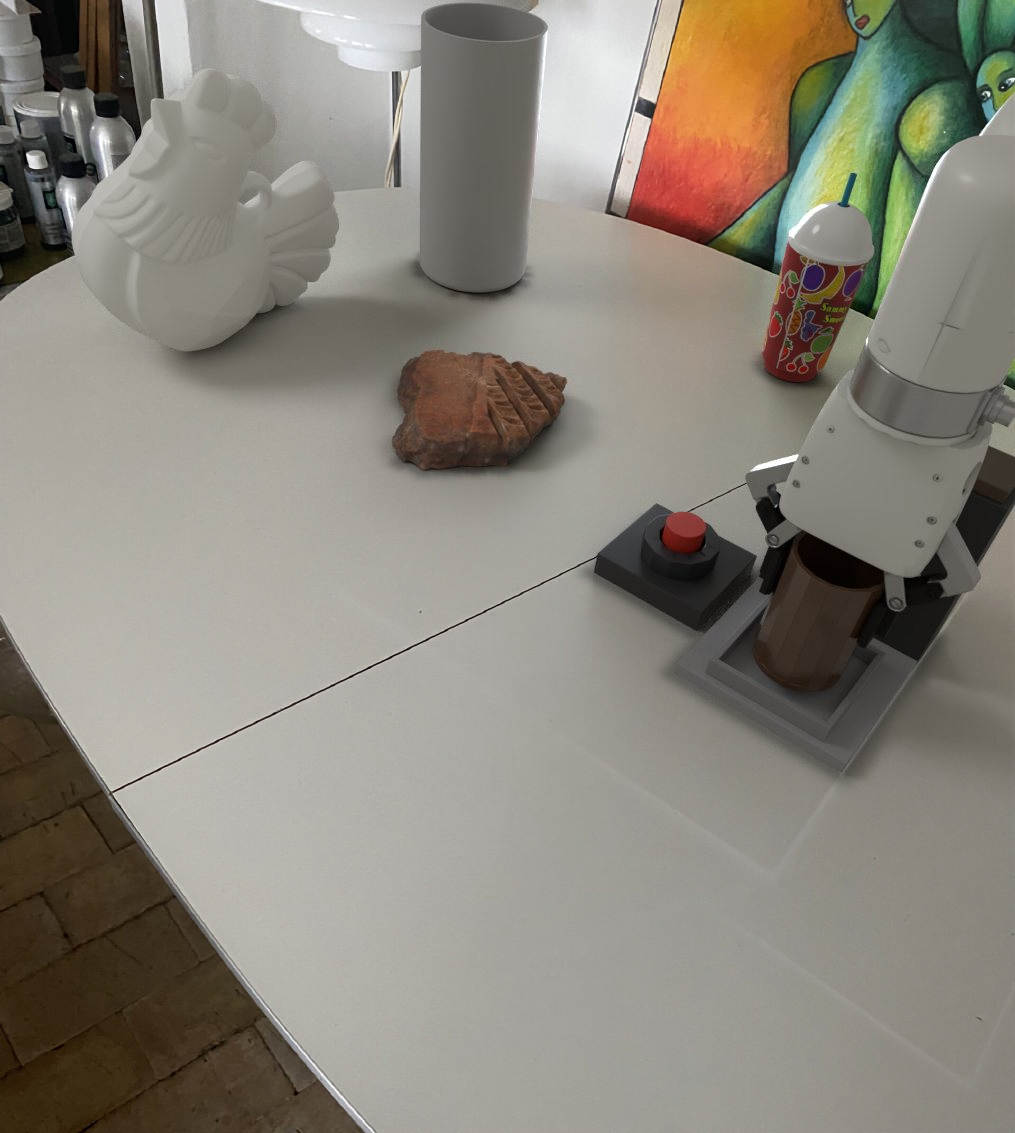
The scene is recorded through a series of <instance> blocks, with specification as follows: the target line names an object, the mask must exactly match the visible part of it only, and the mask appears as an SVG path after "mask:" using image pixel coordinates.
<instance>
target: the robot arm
mask: <svg viewBox="0 0 1015 1133" xmlns="http://www.w3.org/2000/svg"><path fill="white" fill-rule="evenodd" d="M876 312H877V313H876V315H875V317H874V320H873V323H872V325H871V328H870V330H869V332H868V335H867V338H866V340H865V343H864V345H863V348H862V350H861V353H860V355H859V358H858V360H857V363H856V365H855V368H853V369H850V370H848V371H847V372H846V373H845V374H844V375H843V377H841V379H840V380H839V382H838V383H837V384H836V386H835V387H834V388H833V390H832V392H831V393H830V394H829V396H828V399H827V400H826V401H825V403H824V405H823V406H822V409H821V410H820V412H819V413H818V415H817V417H816V418H815V421H814V423H813V424H812V427H811V428H810V431H809V432H808V434H807V436H806V439H805V440H804V442H803V444H802V446H801V448H800V450H799V452H798V453H797V454H793V455H790V456H787V457H782V458H777V459H775V460H771V461H766V462H762V463H758V464H756V465H755V466H753V467H752V468H751V469H750V470H749V471H748V472H747V473H746V474H745V476H744V479H745V482H746V485H747V487H748V489H749V492H750V494H751V497H752V499H753V501H755V504H756V505H755V511H756V514H757V515H758V518H759V519H760V520H759V521H760V522H761V524H762V526H763V528H764V530H765V532H766V534H765V537H764V540H765V543H766V545H767V550H766V552H765V555H764V557H763V559H762V563H761V565H760V568H759V570H758V572H759V574H760V573H762V574H763V575H765V577H764V579H763V582H762V585H761V587H760V590H759V592H760V593H762V594H764V595H767V594H768V595H770V594H771V593H772V592H773V589H774V587H775V584H776V582H777V579H778V577H779V574H780V572H781V569H782V567H783V564H784V561H785V559H786V556H787V554H788V551H789V549H790V546H791V544H792V541H793V539H794V538H795V537H796V536H797V535H798V534H799V533H800V532H801V531H802V530H804V531H806V532H808V533H810V534H812V535H814V536H816V537H818V538H820V539H822V540H824V541H826V542H827V543H829V544H831V545H833V546H835V547H837V548H839V549H841V550H843V551H845V552H847V553H849V554H851V555H853V556H855V557H857V558H859V559H861V560H863V561H865V562H867V563H869V564H871V565H873V566H875V567H877V568H880V569H882V570H884V581H885V591H886V592H885V593H884V595H883V596H882V597H881V598H880V599H879V601H878V602H877V603H876V605H875V606H874V608H873V610H872V612H871V614H870V616H869V618H868V620H867V622H866V624H865V626H864V628H863V630H862V632H861V634H860V635H859V637H858V639H857V641H856V642H857V643H859V644H858V646H860V647H862V648H864V649H865V648H866V647H867V646H868V644H869V643H870V642H871V640H872V639H873V638H874V636H875V635H878V636H880V637H882V638H883V639H884V638H885V637H886V636H887V634H888V633H889V631H890V630H891V628H892V627H893V625H894V623H895V621H896V620H897V618H898V616H899V614H900V612H901V611H902V610H904V608H905V607H907V606H913V605H918V604H924V603H930V602H935V601H937V600H939V598H942V597H946V596H947V597H950V596H953V595H957V594H961V593H962V594H966V593H969V592H972V591H974V589H975V588H976V586H977V585H978V583H979V582H980V580H981V578H982V573H981V571H980V569H979V566H978V567H977V565H976V563H975V561H974V560H973V558H972V556H971V554H970V552H969V550H968V548H967V546H966V544H965V542H964V540H963V538H962V537H961V535H960V533H959V531H958V529H957V527H956V525H955V524H956V522H957V520H958V518H959V516H960V514H961V512H962V509H963V507H964V505H965V503H966V501H967V499H968V497H969V495H970V492H971V490H972V488H973V486H974V483H975V481H976V479H977V476H978V474H979V471H980V469H981V466H982V464H983V461H984V458H985V455H986V452H987V449H988V445H989V446H990V441H991V438H992V433H993V425H994V424H995V423H997V424H998V425H1002V426H1004V427H1006V428H1009V427H1010V426H1011V424H1012V422H1013V421H1014V420H1015V401H1014V400H1011V399H1010V396H1009V395H1007V394H1004V393H1005V391H1006V389H1007V388H1006V387H1004V386H1003V385H1004V383H1005V382H1006V379H1007V378H1008V375H1007V373H1008V372H1009V370H1010V368H1011V366H1012V364H1013V361H1014V360H1015V91H1014V92H1013V93H1012V94H1011V95H1010V96H1009V97H1008V98H1007V100H1005V102H1004V103H1003V104H1002V105H1001V106H1000V107H999V109H998V110H996V112H995V113H994V115H993V116H992V117H991V118H990V119H989V121H988V122H987V124H986V125H985V127H984V128H983V129H982V130H981V132H980V133H979V134H978V135H975V136H971V137H968V138H965V139H963V140H961V141H959V142H955V144H953V145H952V146H951V147H950V148H949V149H948V150H946V151H945V153H943V155H942V156H941V157H940V159H939V160H938V161H937V163H936V164H935V166H934V168H933V170H932V173H931V175H930V177H929V179H928V182H927V183H926V187H925V188H924V192H923V193H922V197H921V199H920V202H919V204H918V206H917V210H916V212H915V215H914V217H913V220H912V222H911V225H910V228H909V230H908V233H907V235H906V238H905V240H904V243H903V246H902V248H901V251H900V253H899V255H898V259H897V261H896V263H895V266H894V269H893V271H892V274H891V277H890V279H889V282H888V284H887V287H886V289H885V292H884V294H883V297H882V299H881V302H880V305H879V307H878V309H877V311H876ZM781 483H784V486H783V489H782V491H781V493H780V492H779V491H777V485H776V484H781ZM935 553H937V554H938V556H939V558H940V560H941V562H942V564H943V565H944V567H945V569H946V572H945V573H933V574H928V575H923V576H921V572H922V571H923V569H924V568H925V566H926V565H927V564H928V563H929V562H930V560H931V559H932V557H933V556H934V554H935ZM962 594H961V595H962Z"/></svg>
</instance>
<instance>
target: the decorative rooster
mask: <svg viewBox="0 0 1015 1133" xmlns="http://www.w3.org/2000/svg"><path fill="white" fill-rule="evenodd" d="M150 116H151V117H150V118H149V119H148V120H146V122H145V123H144V124H143V126H142V129H141V134H140V136H139V138H138V139H137V141H136V142H135V144H134V145H133V147H132V149H131V152H130V154H129V155H128V156H127V158H125V160H124V161H122V162H121V163H120V164H119V165H118V166H117V167H116V168H115V169H114V170H113V171H111V173H110V174H108V176H105V177H104V178H103V179H102V180H101V181H99V182H98V183H97V184H96V186H95V188H94V189H93V191H92V194H91V195H90V197H89V198H88V199H87V200H86V202H85V203H84V204H83V205H82V206H81V208H79V210H78V212H77V214H76V215H75V218H74V220H73V223H72V228H71V245H72V249H73V250H72V251H73V253H74V257H75V261H76V264H77V268H78V271H79V274H80V277H81V278H82V281H83V282H84V284H85V286H86V287H87V288H88V290H89V291H90V292H91V293H92V294H93V296H94V297H95V298H96V299H97V300H98V301H99V303H100V304H101V305H102V306H103V307H104V308H105V310H107V311H108V312H109V314H111V315H112V316H113V317H115V318H116V319H117V320H119V321H120V322H121V323H122V324H124V325H126V326H127V327H128V328H131V329H132V330H134V331H136V332H137V333H139V334H141V335H143V336H145V337H147V338H149V339H152V340H154V341H155V342H157V343H159V344H160V345H163V346H165V347H167V348H170V349H174V350H177V351H180V352H194V351H200V350H206V349H208V348H213V347H215V346H217V345H219V344H221V343H223V342H224V341H226V340H228V339H229V338H230V337H232V336H233V335H234V334H236V333H237V332H239V331H240V330H241V329H243V328H244V327H245V326H247V325H248V324H249V323H250V322H251V320H252V319H253V318H254V317H255V316H256V314H264V313H268V312H270V311H271V310H272V309H274V307H275V305H277V306H280V307H285V306H288V305H291V304H293V303H294V302H295V301H297V300H298V299H299V298H300V297H301V295H303V294H304V293H305V292H306V291H307V290H308V283H316V282H317V281H318V280H319V279H320V278H321V277H320V276H321V275H322V274H323V273H325V272H326V271H327V270H328V269H329V266H330V265H331V260H332V254H331V251H330V249H332V248H334V246H335V245H336V240H337V239H336V236H337V234H338V232H339V229H340V219H339V216H338V212H337V209H336V206H335V204H334V202H335V200H336V199H335V192H334V190H333V187H332V185H331V182H329V180H328V179H327V176H326V173H325V171H324V170H323V169H322V168H321V167H320V166H318V165H317V164H316V163H315V162H313V161H311V160H308V159H307V160H302V161H301V160H300V161H299V162H297V163H295V164H293V165H292V166H291V167H289V168H288V169H286V170H285V171H284V172H283V173H282V174H281V175H279V176H278V177H277V178H276V179H275V180H274V181H272V183H270V181H269V179H268V178H267V177H266V176H265V175H264V174H260V173H258V172H256V171H252V170H249V169H250V166H251V163H252V160H253V159H252V158H253V155H254V154H256V153H257V152H258V151H259V150H261V149H262V148H263V147H265V146H266V145H267V144H268V143H269V142H270V141H271V140H272V139H273V137H274V136H275V134H276V131H277V123H278V122H277V116H276V113H275V110H274V108H273V107H272V105H270V103H268V102H267V101H265V100H264V99H263V98H262V95H261V93H260V91H259V89H258V87H257V86H256V85H255V84H253V83H252V82H251V81H250V80H248V79H247V78H245V77H242V76H240V75H237V74H231V73H227V74H226V73H225V72H223V71H222V70H220V69H218V68H215V67H207V68H202V69H200V70H198V71H197V72H195V73H194V74H193V76H192V77H191V78H190V80H189V82H188V83H187V85H186V87H182V88H180V89H178V90H176V91H174V92H173V93H171V94H170V96H169V97H168V98H167V99H166V98H152V99H151V101H150ZM251 189H254V190H256V191H258V193H257V194H256V195H255V196H254V197H252V198H250V199H249V200H248V201H246V202H245V203H244V204H243V203H242V202H240V201H239V200H240V198H241V196H242V195H243V194H244V193H245V192H247V191H249V190H251Z"/></svg>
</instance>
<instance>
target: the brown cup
mask: <svg viewBox="0 0 1015 1133" xmlns="http://www.w3.org/2000/svg"><path fill="white" fill-rule="evenodd" d="M885 592H886V591H885V581H884V570H882V569H880V568H877V567H875V566H873V565H871V564H869V563H867V562H865V561H863V560H861V559H859V558H857V557H855V556H853V555H851V554H849V553H847V552H845V551H843V550H841V549H839V548H837V547H835V546H833V545H831V544H829V543H827V542H826V541H824V540H822V539H820V538H818V537H816V536H814V535H812V534H810V533H808V532H806V531H804V530H802V531H801V532H800V533H799V534H798V535H797V536H796V537H795V538H794V539H793V541H792V544H791V546H790V549H789V551H788V554H787V556H786V559H785V561H784V564H783V567H782V569H781V572H780V574H779V577H778V579H777V582H776V584H775V587H774V589H773V592H772V595H771V597H770V600H769V602H768V605H767V607H766V610H765V612H764V615H763V617H762V620H761V622H760V625H759V628H758V630H757V633H756V636H755V640H754V642H753V648H752V651H753V657H754V660H755V662H756V664H757V665H758V667H759V668H760V670H761V671H762V672H763V673H764V674H765V675H766V676H767V677H768V678H770V679H771V680H772V681H774V682H775V683H777V684H779V685H781V686H783V687H786V688H788V689H791V690H795V691H799V692H820V691H824V690H827V689H829V688H831V687H833V686H834V685H836V684H837V683H838V682H839V680H840V679H841V677H842V675H843V674H844V672H845V671H846V669H847V667H848V665H849V663H850V661H851V660H852V658H853V656H854V654H855V652H856V650H857V648H858V644H859V643H857V642H856V641H857V639H858V637H859V635H860V634H861V632H862V630H863V628H864V626H865V624H866V622H867V620H868V618H869V616H870V614H871V612H872V610H873V608H874V606H875V605H876V603H877V602H878V601H879V599H880V598H881V597H882V596H883V595H884V593H885Z"/></svg>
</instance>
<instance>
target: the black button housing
mask: <svg viewBox="0 0 1015 1133" xmlns="http://www.w3.org/2000/svg"><path fill="white" fill-rule="evenodd" d="M673 513H675V511H672V510H670V509H669V508H667V507H665V506H663V505H661V504H659V503H657V502H656V503H654V504H653V505H652V506H651V507H650V508H648V509H647V510H646V511H645V512H644V513H643V514H641V515H640V516H639V517H638V518H637V519H635V520H634V521H633V522H632V523H631V524H630V525H629V526H627V527H626V528H625V529H624V530H623V531H622V532H620V534H618V535H617V536H616V537H615V538H614V539H612V540H611V541H609V543H607V544H606V546H605V547H602V549H601V550H599V552H597V554H596V559H595V564H594V569H593V573H594V574H595V575H597V576H599V577H601V578H602V579H603V580H606V581H607V582H609V583H610V584H612V585H615V586H616V587H618V588H620V589H622V590H623V591H626V592H627V593H629V594H631V595H632V596H634V597H635V598H637V599H639V600H640V601H643V602H645V603H646V604H648V605H650V606H651V607H653V608H655V609H657V610H659V611H660V612H662V613H664V614H666V615H667V616H669V617H670V618H672V619H674V620H675V621H678V622H680V623H681V624H683V625H684V626H686V627H688V628H690V629H691V630H694V631H695V632H697V631H698V630H699V629H700V628H702V626H703V625H704V624H705V623H706V622H707V621H708V619H709V618H711V616H713V615H714V613H716V611H717V610H718V609H719V608H720V607H721V606H722V605H723V604H724V603H725V602H726V601H727V600H728V599H729V598H730V597H731V596H732V595H733V594H734V593H735V592H736V591H737V589H739V587H740V586H741V585H742V584H743V583H744V582H745V581H746V580H747V579H749V577H750V576H751V574H752V571H753V568H754V566H755V563H756V560H757V558H758V556H757V554H754V553H752V552H750V551H749V550H747V549H745V548H743V547H742V546H740V545H737V544H735V543H734V542H731V541H730V540H728V539H726V538H724V537H722V536H720V535H719V534H718V533H717V532H716V530H715V529H714V527H712V525H711V524H709V523H708V522H706V521H704V522H705V524H706V531H705V534H704V538H703V541H702V545H701V547H700V549H699V550H698V551H696V552H694V553H690V554H685V553H678V552H675V551H673V550H671V549H669V548H667V547H666V546H665V544H664V543H663V540H662V536H663V532H664V528H665V524H666V520H667V518H668V517H669V516H670V515H671V514H673Z"/></svg>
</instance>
